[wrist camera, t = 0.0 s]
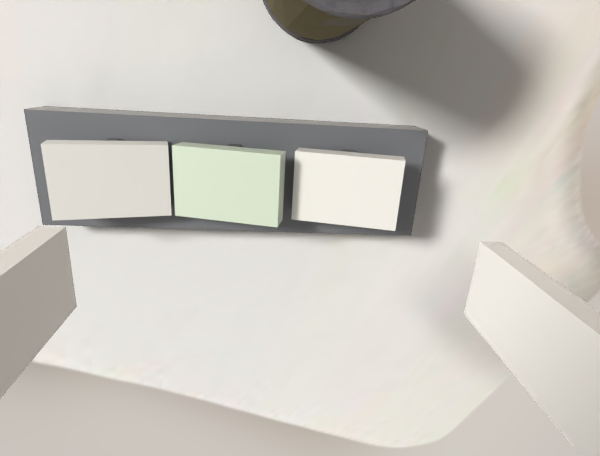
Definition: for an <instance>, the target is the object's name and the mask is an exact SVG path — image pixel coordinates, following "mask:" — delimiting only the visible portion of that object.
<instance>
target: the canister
mask: <svg viewBox="0 0 600 456" xmlns="http://www.w3.org/2000/svg"><path fill="white" fill-rule="evenodd" d="M413 1H415V0H263V2H264V5H265V7H266V9H267V10H268V12H269V14H270V16H271V17H272V19H273V20H274V21H275V22H276V23H277V24H278V25H279V26H280V27H281V28H282V29H283V30H284V31H286V32H287V33H288V34H290V35H292V36H293V37H295V38H297V39H300V40H303V41H307V42H311V43H327V42H332V41H336V40H338V39H341V38H343V37H345V36H347V35H349V34H350V33H351V32H353V31H354V30H355V29H356V28H358V27H359V25H360V24H362V23H364V22H366V21H367V20H369V19H371V18H376V17H380V16H383V15H386V14H390V13H392V12H394V11H397V10H399V9H401V8H403V7H405V6H407V5H408V4H410V3H411V2H413Z"/></svg>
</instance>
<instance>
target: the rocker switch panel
mask: <svg viewBox="0 0 600 456" xmlns="http://www.w3.org/2000/svg"><path fill="white" fill-rule="evenodd" d="M24 113H25V119H26V125H27V131H28V137H29V144H30V150H31V156H32V162H33V168H34V174H35V180H36V186H37V193H38V199H39V205H40V211H41V217H42V223H43V225H72V226H106V227H140V228H174V229H207V230H241V231H275V232H309V233H343V234H377V235H411V232H412V226H413V219H414V213H415V207H416V201H417V195H418V188H419V182H420V176H421V170H422V164H423V158H424V151H425V145H426V139H427V133H428V130H425V129H422V128H419V127H416V126H405V125H386V124H368V123H349V122H331V121H312V120H293V119H275V118H256V117H238V116H219V115H200V114H182V113H163V112H144V111H126V110H107V109H89V108H70V107H51V106H43V107H36V108H29V109H24ZM46 140H103V141H167V142H168V154H169V174H170V194H171V214H172V215H171V216H148V217H124V218H101V219H78V220H54V221H52V215H51V208H50V202H49V195H48V189H47V182H46V176H45V169H44V163H43V156H42V150H41V143H43V142H44V141H46ZM181 142H189V143H200V144H212V145H223V146H234V147H245V148H257V149H268V150H279V151H286V157H285V178H284V199H283V220H282V221H281V223H280V224H279V226H278V227H269V226H261V225H252V224H244V223H235V222H226V221H218V220H209V219H200V218H192V217H183V216H175V202H174V181H173V159H172V145H174V144H178V143H181ZM298 148H311V149H322V150H334V151H345V152H357V153H368V154H380V155H391V156H402V157H404V158H405V168H404V175H403V182H402V189H401V195H400V202H399V209H398V216H397V223H396V229H395V231H391V230H382V229H373V228H364V227H355V226H346V225H337V224H328V223H319V222H311V221H302V220H293V219H291V216H292V198H293V180H294V162H295V151H296V150H297V149H298Z"/></svg>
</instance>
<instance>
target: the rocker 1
mask: <svg viewBox="0 0 600 456" xmlns="http://www.w3.org/2000/svg"><path fill="white" fill-rule="evenodd" d="M41 150H42V156H43V163H44V169H45V176H46V182H47V189H48V195H49V202H50V208H51V215H52V221H54V220H78V219H101V218H124V217H148V216H171V215H172V214H171V194H170V174H169V154H168V142H167V141H103V140H46V141H44V142H43V143H41Z"/></svg>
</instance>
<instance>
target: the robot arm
mask: <svg viewBox="0 0 600 456" xmlns="http://www.w3.org/2000/svg"><path fill="white" fill-rule="evenodd" d="M76 307H77V306H76V299H75V291H74V284H73V276H72V269H71V262H70V254H69V247H68V240H67V232H66V227H56V226H38V227H37V228H35V229H34V230H32V231H31V232H29V233H28V234H26V235H25V236H23V237H22V238H20V239H18V240H17V241H15V242H14V243H12V244H11V245H9V246H8V247H6V248H5V249H3V250H2V251H0V398H1V397H2V396H3V395H4V394H5V392H6V391H7V390H8V389H9V387H10V386H11V385H12V384H13V383H14V381H15V380H16V379H17V378H18V377H19V375H20V374H21V373H22V372H23V371H24V369H25V368H26V367H27V366H28V365H29V363H30V362H31V361H32V360H33V359H34V357H35V356H36V355H37V354H38V352H39V351H40V350H41V349H42V348H43V346H44V345H45V344H46V343H47V342H48V340H49V339H50V338H51V337H52V336H53V334H54V333H55V332H56V331H57V329H58V328H59V327H60V326H61V325H62V323H63V322H64V321H65V320H66V319H67V317H68V316H69V315H70V314H71V313H72V311H73V310H74V309H75V308H76ZM464 315H465V316H466V317H467V318H468V320H469V321H470V322H471V323H472V324H473V326H474V327H475V328H476V329H477V331H478V332H479V333H480V334H481V335H482V337H483V338H484V339H485V340H486V341H487V343H488V344H489V345H490V346H491V348H492V349H493V350H494V351H495V352H496V354H497V355H498V356H499V357H500V359H501V360H502V361H503V362H504V363H505V365H506V366H507V367H508V368H509V370H510V371H511V372H512V373H513V374H514V376H515V377H516V378H517V379H518V380H519V382H520V383H521V384H522V385H523V387H524V388H525V389H526V390H527V391H528V393H529V394H530V395H531V396H532V398H533V399H534V400H535V401H536V402H537V404H538V405H539V406H540V407H541V408H542V410H543V411H544V412H545V413H546V415H547V416H548V417H549V418H550V419H551V421H552V422H553V423H554V424H555V426H556V427H557V428H558V429H559V430H560V432H561V433H562V434H563V435H564V437H565V438H566V439H567V440H568V441H569V443H570V444H571V445H572V446H573V448H574V449H575V450H576V451H577V452H578V454H579V455H580V456H600V312H599V311H598V310H596V309H595V308H594V307H592V306H591V305H590V304H588V303H587V302H585V301H584V300H583V299H581V298H580V297H578V296H577V295H575V294H574V293H573V292H571V291H570V290H568V289H567V288H566V287H564V286H563V285H561V284H560V283H559V282H557V281H556V280H554V279H553V278H552V277H550V276H549V275H547V274H546V273H545V272H543V271H542V270H540V269H539V268H538V267H536V266H535V265H533V264H532V263H531V262H529V261H528V260H526V259H525V258H524V257H522V256H521V255H519V254H518V253H517V252H515V251H514V250H512V249H511V248H510V247H508V246H507V245H505V244H504V243H503V242H480V246H479V250H478V255H477V259H476V263H475V268H474V272H473V276H472V281H471V285H470V289H469V293H468V298H467V302H466V306H465V311H464Z"/></svg>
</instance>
